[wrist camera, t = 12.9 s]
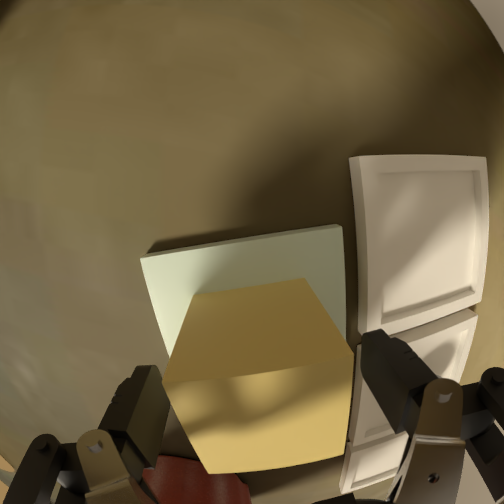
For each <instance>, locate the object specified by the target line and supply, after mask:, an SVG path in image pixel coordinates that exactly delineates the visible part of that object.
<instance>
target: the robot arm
mask: <svg viewBox="0 0 504 504" xmlns="http://www.w3.org/2000/svg"><path fill="white" fill-rule="evenodd" d="M360 369H361V373H362V376H363V379H364V380H365V382H366V384H367V385H368V387H369V389H370V391H371V392H372V394H373V396H374V397H375V399H376V401H377V403H378V404H379V406H380V408H381V410H382V411H383V413H384V415H385V417H386V418H387V420H388V422H389V424H390V426H391V427H392V429H393V431H394V433H395V434H399V433H401V432H404V431H406V432H407V434H408V435H409V436H408V438H407V441H406V444H405V448H404V451H403V454H402V457H401V460H400V463H399V466H398V469H397V472H396V475H395V477H394V480H393V482H392V485H391V487H390V489H389V491H388V493H387V495H386V497H385V500H384V501H383V500H377V499H355V497H354V494H353V492H352V493H349V494H345V495H342V496H338V497H334V498H331V499H326V500H322V501H318V502H315V503H312V504H455V501H456V497H457V493H458V489H459V484H460V479H461V473H462V468H463V461H464V454H465V449H466V450H467V452H468V454H469V455H470V457H471V459H472V460H473V462H474V464H475V466H476V467H477V469H478V471H479V472H480V474H481V476H482V478H483V480H484V482H485V483H486V485H487V487H488V489H489V491H490V493H491V495H492V497H493V498H494V500H495V502H496V504H504V436H503V434H502V433H501V432H500V430H499V429H498V427H497V426H496V425H495V423H494V420H495V419H496V421H497V422H498V423H499V425H500V426H501V427H502V428H503V430H504V369H503V368H499V367H493V368H489V369H487V370H486V371H485V372H484V373H483V374H482V376H481V379H480V382H476V383H472V384H468V385H463V386H460V384H459V383H457V382H456V381H454V380H452V379H448V378H438V377H437V376H436V375H435V373H434V372H433V371H432V370H431V369H430V368H429V367H428V366H427V365H426V363H425V362H424V361H423V360H422V359H421V358H420V357H418V355H417V354H416V353H415V352H414V351H413V349H412V348H411V347H410V346H409V345H408V344H407V343H406V342H405V341H402V340H400V339H398V338H396V337H393V338H390V337H389V336H388V335H387V333H386V332H385V331H384V330H383V329H381V328H380V329H377V330H373V331H370V332H366V333H363V335H362V342H361V359H360ZM162 380H163V379H162V377H161V374H160V372H159V369H158V368H157V366H156V365H142V366H136V368H135V370H134V372H133V374H132V376H131V378H126V379H125V380H124V381H123V382H122V383H121V384H120V385H119V386H118V388H117V390H116V392H115V394H114V396H113V398H112V400H111V404H109V406H108V408H107V410H106V412H105V414H104V417H103V419H102V421H101V423H100V425H99V427H98V429H95V430H90V431H88V432H86V433H84V434H83V435H82V436H81V437H80V438H79V439H78V441H77V443H65V444H61V443H60V442H59V441H58V440H57V439H56V437H55V436H53V435H51V434H42V435H40V436H38V437H36V438H35V439H34V440H33V441H32V443H31V444H30V446H29V448H28V450H27V452H26V454H25V456H24V458H23V460H22V462H21V464H20V466H19V468H18V470H17V472H16V474H15V476H14V478H13V481H12V483H11V485H10V487H9V490H8V492H7V494H6V497H5V499H4V501H3V504H50V497H51V494H52V491H53V489H54V486H55V483H56V481H57V482H58V483H60V484H61V487H60V490H59V493H58V496H57V499H56V502H55V504H161V502H160V501H159V499H158V498H157V496H156V495H155V493H154V492H153V490H152V489H151V487H150V486H149V484H148V483H147V481H146V479H145V478H144V477H143V475H142V474H143V470H144V469H154V470H155V467H156V463H157V458H158V454H159V450H160V446H161V441H162V437H163V433H164V429H165V425H166V421H167V417H168V413H169V409H170V400H169V398H168V396H167V394H166V391H165V389H164V387H163V385H162Z"/></svg>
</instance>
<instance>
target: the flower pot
mask: <svg viewBox="0 0 504 504" xmlns="http://www.w3.org/2000/svg"><path fill="white" fill-rule="evenodd" d="M142 475H143V477H144V478H145V479H146V481H147V483H148V484H149V486H150V487H151V489H152V490H153V492H154V493H155V495H156V496H157V498H158V499H159V501H160V502H161V504H252V503H251V498H250V492H249V487H248V485H247V484H245V483H242V482H241V480H240V479H239V478H238V476H237V475H236V474H234V473H220V474H208V472H207V470H206V469H205V467H204V465H203V464H202V462H200V461H195V460H191V459H186V458H180V457H174V456H164V455H158V458H157V463H156V467H155V470H154V469H144V470H143V474H142Z"/></svg>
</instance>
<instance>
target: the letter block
mask: <svg viewBox="0 0 504 504" xmlns="http://www.w3.org/2000/svg"><path fill="white" fill-rule="evenodd" d="M353 364H354V353H353V352H352V350H351V349H350V347H349V345H348V344H347V342H346V341H345V339H344V338H343V336H342V334H341V333H340V331H339V330H338V328H337V327H336V325H335V324H334V322H333V320H332V319H331V317H330V316H329V314H328V313H327V311H326V310H325V308H324V307H323V305H322V304H321V302H320V300H319V299H318V297H317V296H316V294H315V293H314V291H313V290H312V288H311V287H310V285H309V284H308V282H307V281H306V279H305V278H299V279H293V280H287V281H281V282H275V283H269V284H263V285H257V286H250V287H244V288H237V289H231V290H224V291H217V292H210V293H203V294H196V295H193V297H192V299H191V302H190V305H189V307H188V310H187V313H186V315H185V318H184V321H183V323H182V326H181V329H180V332H179V334H178V337H177V340H176V343H175V345H174V348H173V351H172V354H171V357H170V359H169V362H168V365H167V368H166V371H165V374H164V377H163V380H162V385H163V387H164V389H165V391H166V394H167V396H168V398H169V400H170V402H171V405H172V407H173V409H174V411H175V413H176V415H177V417H178V419H179V421H180V423H181V425H182V427H183V429H184V431H185V433H186V435H187V437H188V439H189V440H190V442H191V444H192V446H193V448H194V450H195V451H196V453H197V455H198V457H199V458H200V460H201V462H202V464H203V465H204V467H205V469H206V470H207V472H208V474H220V473H238V472H251V471H260V470H268V469H276V468H282V467H289V466H294V465H300V464H305V463H310V462H315V461H319V460H323V459H327V458H331V457H335V456H339V455H343V454H344V448H345V442H346V435H347V427H348V419H349V411H350V401H351V391H352V379H353Z"/></svg>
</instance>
